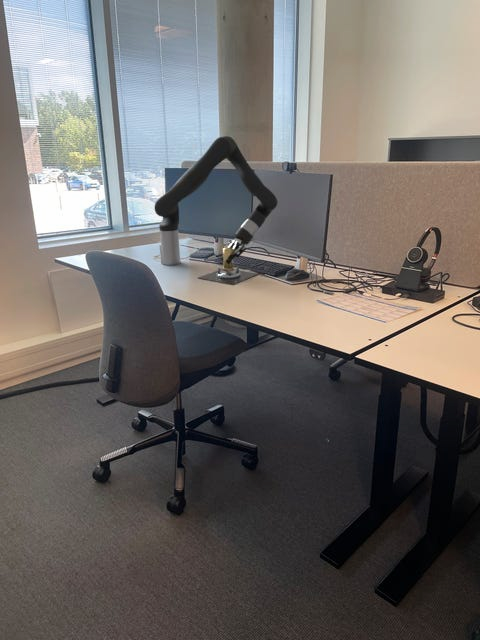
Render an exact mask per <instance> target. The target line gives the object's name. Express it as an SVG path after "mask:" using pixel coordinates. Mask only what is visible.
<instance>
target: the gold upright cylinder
mask: <svg viewBox="0 0 480 640" xmlns="http://www.w3.org/2000/svg"><path fill="white" fill-rule="evenodd" d="M232 249H233V248H232V247H225V246H224V247H222V256H223V261H222V263H223V267H222V269H223V271H228V270H231V271H233V270H235V266H234V259H233V260H232V261H231V262H230V264H228V263H227V262H226V259H227V258H228V257H229V255H231V253H232Z"/></svg>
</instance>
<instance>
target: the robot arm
mask: <svg viewBox="0 0 480 640" xmlns="http://www.w3.org/2000/svg"><path fill="white" fill-rule="evenodd" d="M224 160H228V161H229V162H230V163H231V165H233V167H234V168H235V171H236V172H237V174H238V177H239V178H240V180H241V182H242V184H243V185H244V187H245V188H246V189H247V190H248V192H249V193H250V194H251V195H252V196H253V197H256V198H257V200H258V201H259V203H258V204H257V206H256V207H255V209H254V210H253V211H252V212H251V214H250V215H249V216H248V217H247V219H246V220H245V221H244V222H243V223H242V224H241V226H239V228H238V229H237V231H236V232H235V234H234V236H235V237H234V239H232V240H230V239H229V240H228V241H227V243H226V245H225V246H224V247H232V248H233V249H232V253H231V255H229V257H228V258H227V259H226V262H227V263H228V264H230V262H231V261H232V260H233V261H234V259H235V258H239V257H240V256H241V255H242V254H243V253H244V252H245V251H246V250H247V249H248V248H247V245H249V244H250V243H251V241H252V240H253V239H254V238H255V236H256V234H257V233H258V232H259V230H260V229H261V227H262V225H263V224H264V223H265V221H266V219H267V218H268V217H269V215H271V213H272V212H273V211H274V210H275V209H276V208H277V206H278V199H277V197H276V196H275V194H274V193H273V192H272V190H270V188H268V187H267V186H266V185H265V184H264V183H263V182H262V180H261V179H260V177H258V175H257V174H256V172H255V171H254V170H253V169H252V167H251V166H250V164H249V163H248V162H247V160H246V159H245V157H244V155H243V154H242V152H241V149H240V148H239V146H238V144H237V142H236V141H235V139H234V138H232V136H228V135H227V136H224V135H223V136H220V137H218V138H216V139H215V140H214V141H213V142H212V144H211V145H210V146H209V147H208V149H207V150H206V151H205V153H204V154H203V155H202V156H201V157H200V158H199V159H198V160H196V161H195V162H194V163H193V164H192V165H191V166H190V167H189V168H188V169H187V170H186V171H185V172H184V173H183V174H182V175H181V176H180V178H178V180H177V181H176V182H175V183H174V184H173V185H172V187H171V188H170V189H169V190H168V191H167V192H166V193H164V194H163V195H162V196H161V197H159V198H158V199H157V200H156V201H155V203H154V211H155V214H156V215H157V216H158V217H161V218H162V219H161V222H160V224H159V226H158V227H159V238H160V239H159V240H160V245H159V255H160V263H161V264H163V265H165V266H174V265H179V264H180V263H181V252H180V250H181V249H180V239H179V223H180V208H179V203H180V202H181V201H183V200H184V199H186V198H187V197H189V196H190V195H192V194H193V193H195V192H196V191H197V190H198V189H199V188H200V187H201V186H203V184H204V183H205V182H206V181H207V179H208V178H209V176H210V174H211V173H212V171H213V169H214V168H216V167H217V166H218V165H220V164H221V163H222V162H223V161H224ZM219 260H221V261H222V262H223V255H222V256H221V257H220V259H219Z"/></svg>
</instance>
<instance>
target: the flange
mask: <svg viewBox="0 0 480 640" xmlns="http://www.w3.org/2000/svg"><path fill="white" fill-rule="evenodd" d="M258 275H260V274H259V273H257V272H252V271H247V270H246V271H245V270H240V266H236V267H235V269H234V270H233V271H231V270H228V271H223V268H220V267H217V270H215V271H212V272H210V273H207V274H204V275H201V276H199V277H197V279H200V280H205V281H210V282H215V283H221V284H224V285H225V284H226V285H231V286H234V285H237V284H240V283H241V282H244V281H246V280H248V279H251V278H254V277H256V276H258Z"/></svg>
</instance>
